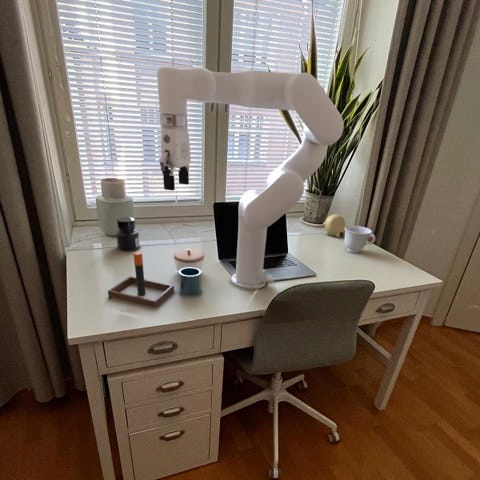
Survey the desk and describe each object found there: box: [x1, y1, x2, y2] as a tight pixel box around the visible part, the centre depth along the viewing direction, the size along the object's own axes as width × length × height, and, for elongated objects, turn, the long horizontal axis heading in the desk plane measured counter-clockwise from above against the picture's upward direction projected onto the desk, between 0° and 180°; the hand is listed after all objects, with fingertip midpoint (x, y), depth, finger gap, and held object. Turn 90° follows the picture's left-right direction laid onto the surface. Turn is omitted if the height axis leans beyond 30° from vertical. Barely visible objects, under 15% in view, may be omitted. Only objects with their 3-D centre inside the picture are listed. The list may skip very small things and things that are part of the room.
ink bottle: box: [115, 216, 141, 252], centre depth 143 cm, size 10×9×12 cm
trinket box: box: [173, 248, 205, 273], centre depth 126 cm, size 11×11×9 cm
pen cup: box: [178, 267, 202, 297], centre depth 114 cm, size 7×7×8 cm
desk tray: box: [107, 275, 175, 309], centre depth 111 cm, size 17×12×3 cm
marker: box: [133, 251, 146, 297], centre depth 108 cm, size 2×2×14 cm
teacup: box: [344, 224, 376, 254], centre depth 157 cm, size 12×15×10 cm
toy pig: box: [322, 213, 346, 238], centre depth 176 cm, size 10×12×11 cm
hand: (176, 186), depth 105 cm, fingers open, 9 cm apart
